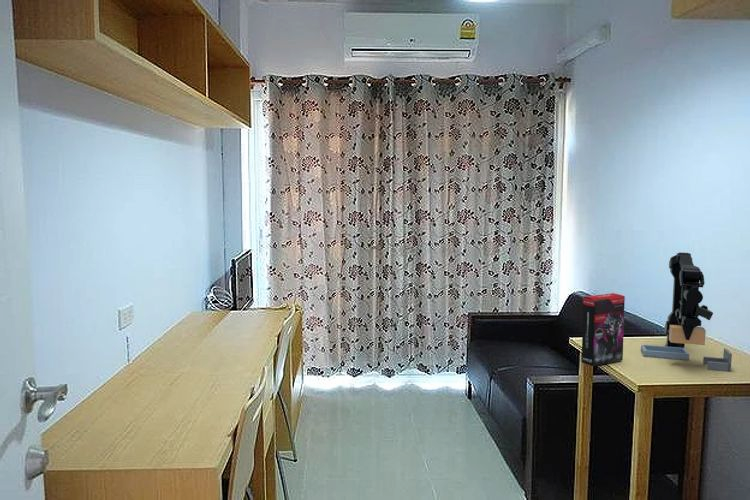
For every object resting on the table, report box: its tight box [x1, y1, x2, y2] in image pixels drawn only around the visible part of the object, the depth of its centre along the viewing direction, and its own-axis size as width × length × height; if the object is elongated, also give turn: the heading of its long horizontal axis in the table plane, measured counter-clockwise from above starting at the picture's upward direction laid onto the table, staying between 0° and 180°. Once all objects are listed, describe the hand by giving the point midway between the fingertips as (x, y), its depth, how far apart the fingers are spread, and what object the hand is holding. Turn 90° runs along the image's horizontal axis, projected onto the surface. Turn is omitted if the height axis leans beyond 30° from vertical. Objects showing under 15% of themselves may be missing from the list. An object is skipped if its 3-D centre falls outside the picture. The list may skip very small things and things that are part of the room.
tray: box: [640, 344, 690, 361], centre depth 254 cm, size 17×10×2 cm, turn 73°
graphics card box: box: [581, 292, 626, 367], centre depth 242 cm, size 17×7×27 cm, turn 118°
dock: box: [702, 347, 733, 373], centre depth 237 cm, size 8×8×7 cm
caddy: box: [668, 325, 707, 346], centre depth 240 cm, size 12×5×6 cm, turn 73°
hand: (686, 338), depth 240 cm, fingers closed on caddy, 5 cm apart
